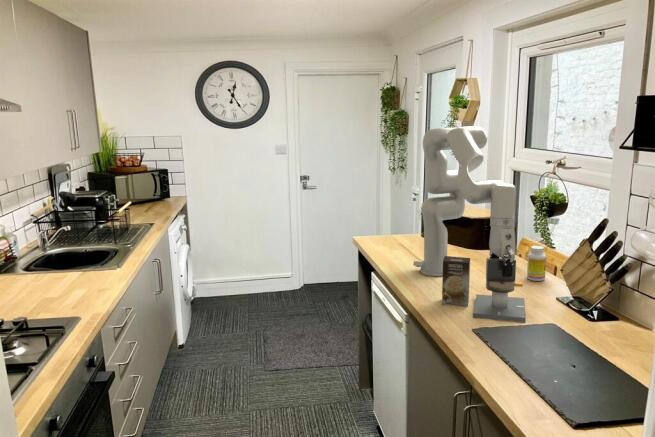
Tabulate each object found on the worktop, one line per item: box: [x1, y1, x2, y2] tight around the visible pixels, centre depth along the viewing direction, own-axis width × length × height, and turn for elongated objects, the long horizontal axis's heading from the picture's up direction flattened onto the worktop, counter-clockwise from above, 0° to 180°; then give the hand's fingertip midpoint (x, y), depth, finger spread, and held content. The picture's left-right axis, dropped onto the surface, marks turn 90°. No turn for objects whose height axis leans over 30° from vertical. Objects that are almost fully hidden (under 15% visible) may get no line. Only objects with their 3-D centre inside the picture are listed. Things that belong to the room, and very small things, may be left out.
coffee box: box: [441, 255, 471, 308], centre depth 180 cm, size 9×6×16 cm
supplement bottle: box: [526, 245, 547, 282], centre depth 202 cm, size 7×7×13 cm
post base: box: [472, 291, 527, 323], centre depth 173 cm, size 16×18×7 cm
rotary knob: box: [485, 257, 524, 294], centre depth 171 cm, size 12×9×10 cm
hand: (500, 271), depth 171 cm, fingers open, 9 cm apart
